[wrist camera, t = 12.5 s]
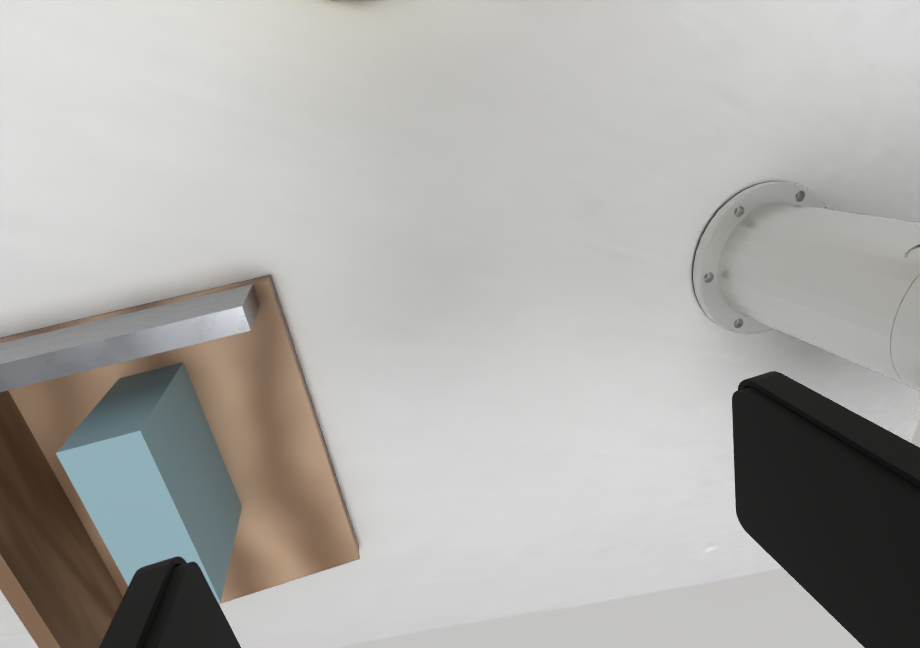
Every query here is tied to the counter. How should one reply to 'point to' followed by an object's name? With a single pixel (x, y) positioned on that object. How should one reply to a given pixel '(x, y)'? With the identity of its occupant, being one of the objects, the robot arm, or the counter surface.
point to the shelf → (232, 424)
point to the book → (155, 476)
